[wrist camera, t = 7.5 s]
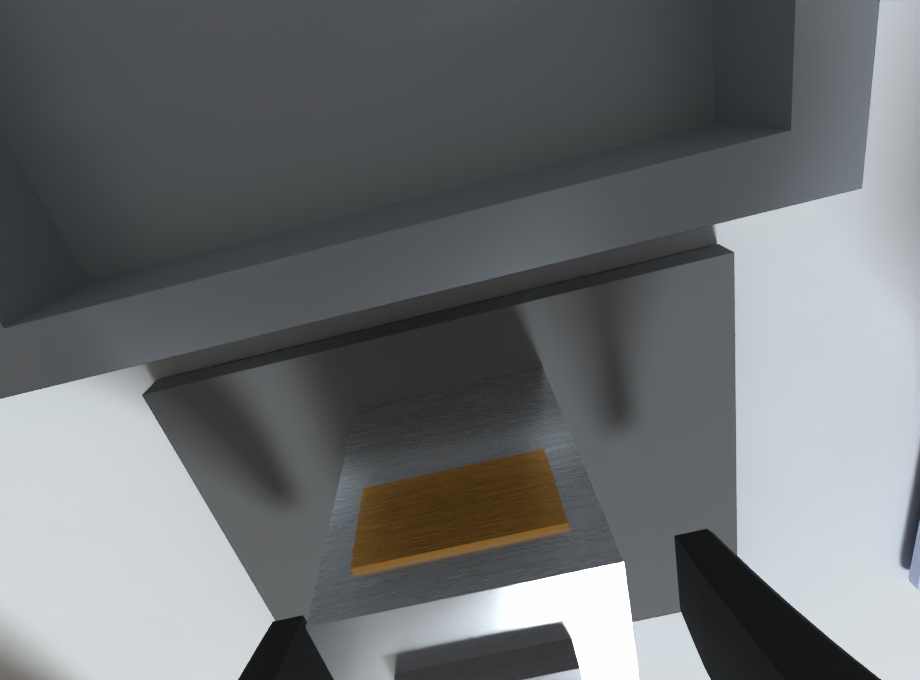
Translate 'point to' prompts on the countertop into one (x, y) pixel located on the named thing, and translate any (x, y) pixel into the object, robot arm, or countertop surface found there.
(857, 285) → the countertop surface
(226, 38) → the case
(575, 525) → the block
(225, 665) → the countertop surface
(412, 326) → the grey flat panel
